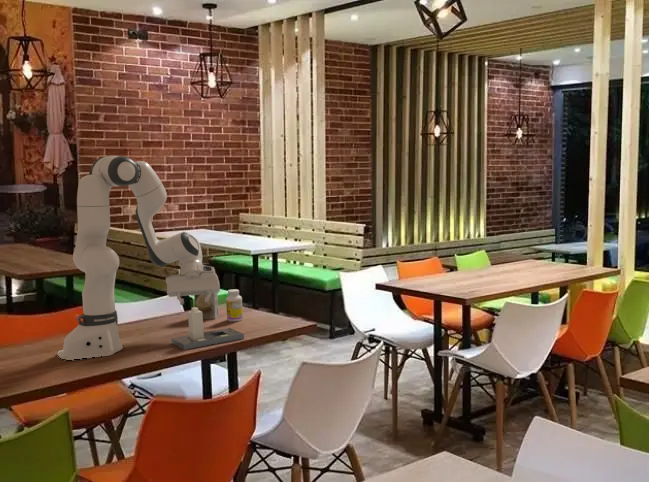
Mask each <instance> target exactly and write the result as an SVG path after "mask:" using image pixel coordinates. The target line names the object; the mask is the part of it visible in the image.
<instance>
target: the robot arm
mask: <svg viewBox="0 0 649 482" xmlns="http://www.w3.org/2000/svg"><path fill="white" fill-rule="evenodd" d="M91 165H92V166H91V168H90V171H89V173H88V174H87V175H84V176H83V177H81V178H80V179H79V181H78V185H77V186H78V187H77V192H76V193H77V195H76V210H77V211H76V212H77V214H76V215H77V234H76V241H75V249H74V251H73V253H72V254H73V255H72V261H73V263H74V265H75V267H76V268H77V269H78V270H80V271H81V272H83V273H84V274H85V276H84V287H83V289H82V292H81V296H82V311H83V313H82V314H81V315H80V314H75V316H74V320H75V321H77V322H78V325H77V326H76V327H75V328H74V329H73V330H72V331H70V332H69V333H68V334H66V336H65V337H64V340H63V347H62V349H60V350H58V351H57V355H58V356H59V357H60V358H62V359H66V360H72V361H75V360H74V359H80V360H83V359H82V358H87V359H93V358H92V357H95V358H101V356H102V357H108V356H112V355H114V354H115V353H117V352H120V351H121V350H123V349H124V347H123V345H122V342H121V338H120V334H119V330H118V329H119V328H118V326H119V325H118V322H119V320H118V311H117V310H116V304H115V303H116V301H115V285H116V283H115V282H116V275H117V271H118V269H119V267H120V258H119V255H118V253H117V252H115V250H114V249H112V248H111V247H109V246H107V240H108V239H107V238H108V235H109V231H110V229H111V216H110V214H111V211H110V193H111V190H112V188H113V187H126V186H128V187H129V188H130V189H131V191H132V193H133V195H134V197H135V198H136V202H137V207H136V209H135V217H136V220H137V224H138V227H139V229H140V232H141V235H142V238H143V240H144V243H145V245H146V249H147V253H148V257H149V260H150V261H151V263H152V264H153V265H155V266H157V267H161V268H163V267H165V266H168V265H170V264H171V263H174V262H176V261H179V260H180V274H170V275H168V276H167V277H165V284H166V294H167V296H168V297H170V298H173V297H176V299H177V300H178V301H179V305H185V301H184V300H185V299H184V298H182V297H187V296H194V295H200V294H207V297H205V303H209V298H210V297H211V294H213V293H218V294H219V293H220V290H221V285H220V280H219V277H218V275H217V273H216V269H215V267H214V266H210V265H209V266H208V265H204V264H203V251H202V246H201V243H200V241H199V240H198V239H197V238H196V237H194V236H193V235H191V234H190V233H188V232H185V231H182V232H179V233H176V234H174V235H172V236H169V237H167V238H164V239H161V240H160V239H158V238H157V237H158V236H157V235H156V232H155V228H154V226H153V223H152V219H153V217H154V216H156V214H158V213H159V211H161V210H162V208H163V207H164V206H165V204H166V202H167V199H168V198H167V197H168V195H167V194H168V193H167V191H166V188H165V187H164V184H163V182H162V181H161V179H160V177H159V176H158V174H157V173H156V171H155V170H154V169H153V168H152V166H151V165H150V164H149V163H148V162H147V161H144V160H137V161H134V160H133V159H131V158H129V157H127V156H124V155H122V156H121V155H120V156H119V155H108V156H101V157H99V158H97V159H96V160H95V161H93V163H92V164H91ZM57 355H56V356H57ZM58 356H57V357H58ZM59 357H58V358H59ZM60 358H59V359H60ZM62 359H61V360H62ZM66 360H65V361H66Z"/></svg>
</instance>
